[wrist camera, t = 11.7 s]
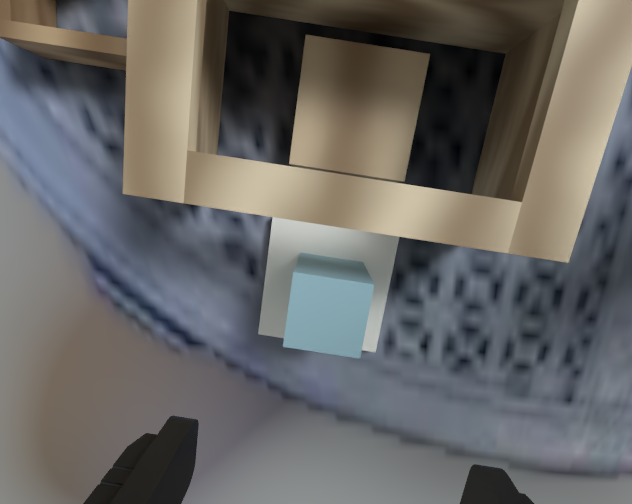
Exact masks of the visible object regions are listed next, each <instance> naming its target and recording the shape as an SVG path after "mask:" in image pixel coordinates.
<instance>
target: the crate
mask: <svg viewBox="0 0 632 504" xmlns="http://www.w3.org/2000/svg"><path fill="white" fill-rule="evenodd" d="M229 11H235V12H241V13H248V14H254V15H261V16H267V17H273V18H280V19H286V20H293V21H299V22H305V23H312V24H318V25H325V26H331V27H338V28H344V29H350V30H357V31H363V32H370V33H376V34H383V35H389V36H395V37H402V38H408V39H415V40H421V41H427V42H434V43H440V44H447V45H453V46H460V47H466V48H472V49H479V50H485V51H492V52H498V53H504V54H506V55H505V59H504V63H503V67H502V71H501V75H500V79H499V83H498V87H497V91H496V95H495V99H494V103H493V107H492V112H491V116H490V120H489V124H488V128H487V132H486V136H485V140H484V144H483V148H482V152H481V156H480V160H479V164H478V168H477V172H476V176H475V181H474V185H473V189H472V193H471V194H466V193H459V192H453V191H446V190H440V189H434V188H427V187H421V186H414V185H408V184H401V183H395V182H404V181H405V176H406V171H407V166H408V161H409V157H410V152H411V147H412V142H413V137H414V132H415V127H416V122H417V117H418V112H419V107H420V102H421V97H422V93H423V88H424V83H425V78H426V73H427V68H428V63H429V58H430V54H427V53H421V52H414V51H408V50H402V49H395V48H389V47H382V46H376V45H369V44H363V43H357V42H350V41H344V40H337V39H331V38H325V37H318V36H312V35H306V37H305V45H304V52H303V60H302V68H301V75H300V83H299V91H298V99H297V106H296V114H295V122H294V129H293V137H292V145H291V152H290V160H289V164H290V165H292V166H293V167H292V166H285V165H279V164H272V163H266V162H259V161H253V160H246V159H240V158H233V157H227V156H221V155H217V150H218V138H219V126H220V114H221V103H222V91H223V79H224V67H225V56H226V44H227V32H228V21H229ZM631 66H632V0H128V24H127V60H126V95H125V130H124V166H123V194H127V195H133V196H140V197H146V198H153V199H159V200H166V201H172V202H178V203H185V204H191V205H198V206H204V207H211V208H217V209H224V210H230V211H237V212H243V213H250V214H256V215H263V216H269V217H275V218H282V219H288V220H295V221H301V222H308V223H314V224H321V225H327V226H334V227H340V228H347V229H353V230H360V231H366V232H372V233H379V234H385V235H392V236H398V237H405V238H411V239H418V240H424V241H431V242H437V243H444V244H450V245H457V246H463V247H469V248H476V249H482V250H489V251H495V252H502V253H508V254H515V255H521V256H528V257H534V258H541V259H547V260H554V261H560V262H566V263H569V260H570V256H571V253H572V250H573V247H574V244H575V241H576V238H577V235H578V231H579V228H580V225H581V222H582V219H583V216H584V213H585V210H586V207H587V203H588V200H589V197H590V194H591V191H592V188H593V185H594V182H595V179H596V175H597V172H598V169H599V166H600V163H601V160H602V157H603V154H604V151H605V147H606V144H607V141H608V138H609V135H610V132H611V129H612V126H613V122H614V119H615V116H616V113H617V110H618V107H619V104H620V101H621V98H622V94H623V91H624V88H625V85H626V82H627V79H628V76H629V73H630V70H631ZM298 167H299V168H298ZM304 168H306V169H304ZM311 169H312V170H311ZM317 170H319V171H317ZM324 171H325V172H324ZM330 172H332V173H330ZM337 173H338V174H337ZM343 174H344V175H343ZM350 175H351V176H350ZM356 176H357V177H356ZM363 177H364V178H363ZM369 178H370V179H369ZM375 179H377V180H375ZM382 180H383V181H382ZM388 181H390V182H388Z"/></svg>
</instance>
